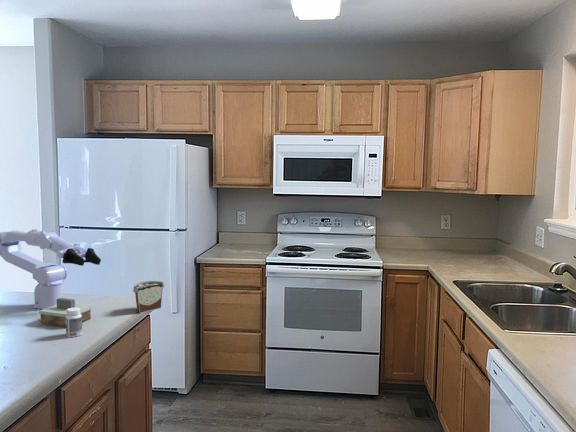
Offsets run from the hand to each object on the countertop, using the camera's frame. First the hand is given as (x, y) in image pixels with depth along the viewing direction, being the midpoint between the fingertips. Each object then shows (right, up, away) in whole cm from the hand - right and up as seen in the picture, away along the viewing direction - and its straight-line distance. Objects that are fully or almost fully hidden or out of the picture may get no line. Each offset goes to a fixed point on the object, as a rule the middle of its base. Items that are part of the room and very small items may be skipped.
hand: (91, 262), depth 172 cm
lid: (-6, -16, -6) cm, 18 cm away
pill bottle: (+2, -21, -19) cm, 29 cm away
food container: (+16, -19, +10) cm, 27 cm away
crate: (-6, -20, -6) cm, 21 cm away
